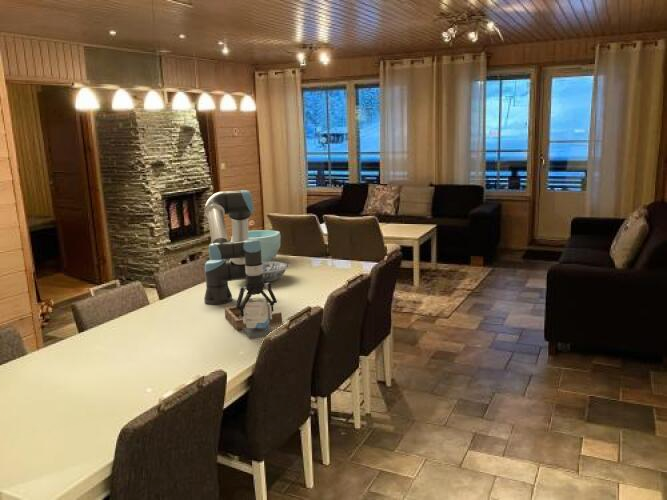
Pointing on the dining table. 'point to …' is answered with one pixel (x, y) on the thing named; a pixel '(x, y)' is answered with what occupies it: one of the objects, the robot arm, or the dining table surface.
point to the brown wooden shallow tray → (237, 323)
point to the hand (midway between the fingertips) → (257, 320)
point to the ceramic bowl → (273, 270)
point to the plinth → (257, 331)
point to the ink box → (257, 313)
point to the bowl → (267, 242)
